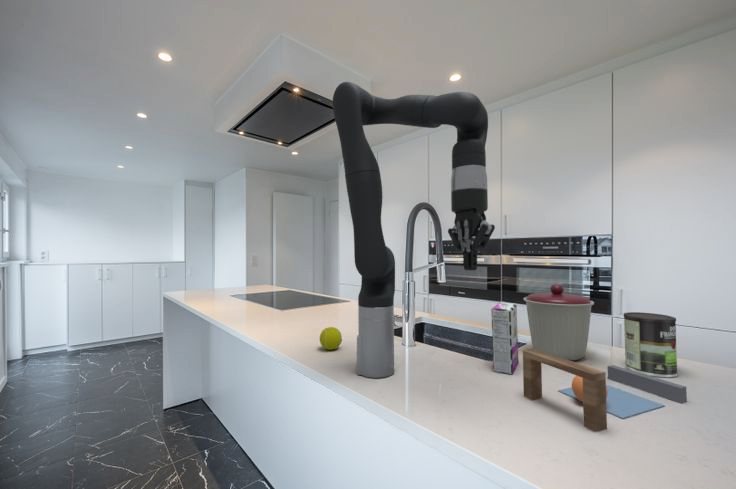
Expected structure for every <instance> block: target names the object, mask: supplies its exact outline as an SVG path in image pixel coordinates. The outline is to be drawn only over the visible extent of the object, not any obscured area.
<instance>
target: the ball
mask: <svg viewBox="0 0 736 489" xmlns="http://www.w3.org/2000/svg"><path fill="white" fill-rule="evenodd" d="M571 387H572V390H573V393H574V394H575V396H576V397H577V398H578V399H579V400H580V401H579V400H578V401H579V402H582V403H583V378H582V377H580V376H577V375H574V377H573V379H572V381H571ZM607 394H608V391H607V387H606V398H607Z"/></svg>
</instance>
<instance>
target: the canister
mask: <svg viewBox="0 0 736 489" xmlns="http://www.w3.org/2000/svg"><path fill="white" fill-rule="evenodd" d="M549 291H550V292H536V293H531V294H528V295H527V296H525V297H523V301H524V302H526V303H525V305H526V311H527V312H526V313H527V319H528V327H529V332H530V333H529V334H530V339H531V344H532V347H533V348H532V349H535V350H538V351H541V352H545V353H548V354H551V355H554V356H557V357H560V358H563V359H566V360H569V361H573V362H575V361H579V360H581V359H583V358H584V356H586V354H587V350H588V349H587V348H588V340H589V332H590V323H591V314H592V313H591V312H592V306H594V305H595V302H594V301H593V300H590V298H588V297H586V296H583V295H580V294H572V293H564V291H565V288H564V286H563V285H561V284H558V283H557V284H552V285H551V286H550V287H549Z"/></svg>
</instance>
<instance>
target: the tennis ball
mask: <svg viewBox="0 0 736 489" xmlns="http://www.w3.org/2000/svg"><path fill="white" fill-rule="evenodd" d="M342 337H343V336H342V334H341V331H340V330H339V329H338V328H336V327H333V326H331V327H330V326H329V327H326V328H324V329H323V330H322V331H321V332H320V336H319V342H320V345H321V346H322V348H324V349H325V350H328V351H333V349H334V350H336V349H337V348H339V347H340V345H341V344H342V340H343V338H342Z"/></svg>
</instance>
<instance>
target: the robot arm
mask: <svg viewBox="0 0 736 489" xmlns="http://www.w3.org/2000/svg"><path fill="white" fill-rule="evenodd" d="M332 110H333V117H334V121H335V124H336V125H335V126H336V128H337V131H338V132H337V133H338V137H339V141H340V148H341V154H342V161H343V168H344V178H345V185H346V192H347V197H348V205H349V210H350V216H351V221H352V227H353V228H352V229H353V248H354V252H353V253H354V256H353V257H354V265H355V269H356V271H357V272H358V274H360V275H359V276H361V287H360V291H359V293H358V298H357V299H358V300H357V302H358V303H357V306H358V310H357V311H358V316H357V317H358V318H357V320H358V321H357V322H358V335H356V336H357V337H356V375H358V376H363V377H367V378H373V379H378V378H380V379H383V378H387V377H390V376H392V375H393V374H394V373H395V322H394V321H395V320H394V319H395V315H394V314H395V310H394V308H395V307H394V298H395V292H396V259H395V254H394V252H393V251H392V250H391V248H390V247H388V246H386V242H385V238H384V233H383V226H382V208H383V186H382V185H383V184H382V178H381V171H380V166H379V163H378V160H377V158H376V156H375V154H374V152H373V149H372V148H371V146H370V144H369V142H368V140H367V137H366V135H365V131H364V127H365V126H372V125H374V126H375V125H401V126H410V127H418V128H427V129H429V128H430V129H436V128H439V127H440V126H442V125H444V126H446V125H447V126H453V127H454V128H455V129H456V133H457V135H456V136H457V137H456V138H457V139H456V143H455V144H454V145H453V147H452V150H451V179H450V197H451V199H450V203H451V204H450V205H451V206H450V207H451V209H450V210H451V212H452V213H454V214H455V217H454V221H453V222H454V223H453V224H454V225H453V227H452V228H451V227H450V228H447V229H448V230H447V233H448V235H449V237H450V239H451V241H452V242H453V245H454V247H455V249H456V250H458V251H461V253H462V257H463V259H462V261H463V263H462V264H463V269H464V270H465V271H477V269H478V253H479V251H481V250H484V249H485V248H486V246H487V244H488V242H489V240H490V238H491V237H492V234H493V233H494V231H495V228H496V227H495V226H496V225H494V224H492V223H491V224H490V223H489V222H488V221H487V216H486V214H485V212H486V211H487V210H488V209H489V204H488V200H489V199H488V195H489V194H488V175H487V167H486V166H487V157H486V156H487V155H486V154H487V152H486V143H487V137H488V128H489V115H488V112H487V108H486V107H485V106H484V104H483V103H482V101H481V99H480V98H479V97H478V96H477V95H475V94H474V93H471V92H466V91H455V92H449V93H444V94H439V95H431V94H409V95H408V94H407V95H403V96H400V97H397V98H383V97H379V96H375V95H372V94H371V93H370V92H369V91H367V90H366V89H364V88H362V87H361V86H360V85H358V84H356V83H354V82H351V81H343V82H342V83H340V84H338V85H337V87H336V88H335V90H334V93H333V96H332Z"/></svg>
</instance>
